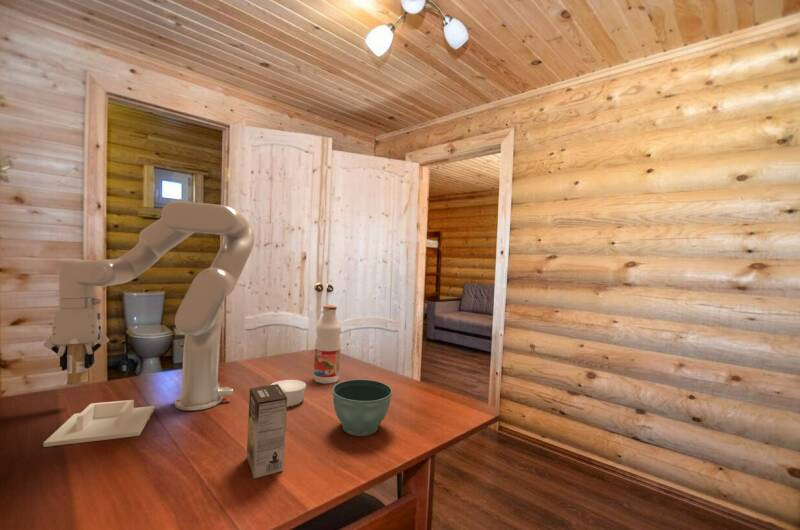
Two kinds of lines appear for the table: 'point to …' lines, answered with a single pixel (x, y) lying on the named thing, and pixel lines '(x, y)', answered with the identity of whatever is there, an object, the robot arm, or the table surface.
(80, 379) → the sprinkles bottle
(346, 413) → the flower pot
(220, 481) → the table surface
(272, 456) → the coffee box
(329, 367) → the fruit juice
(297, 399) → the ramekin
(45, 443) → the u rest
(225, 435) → the table surface
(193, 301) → the robot arm
